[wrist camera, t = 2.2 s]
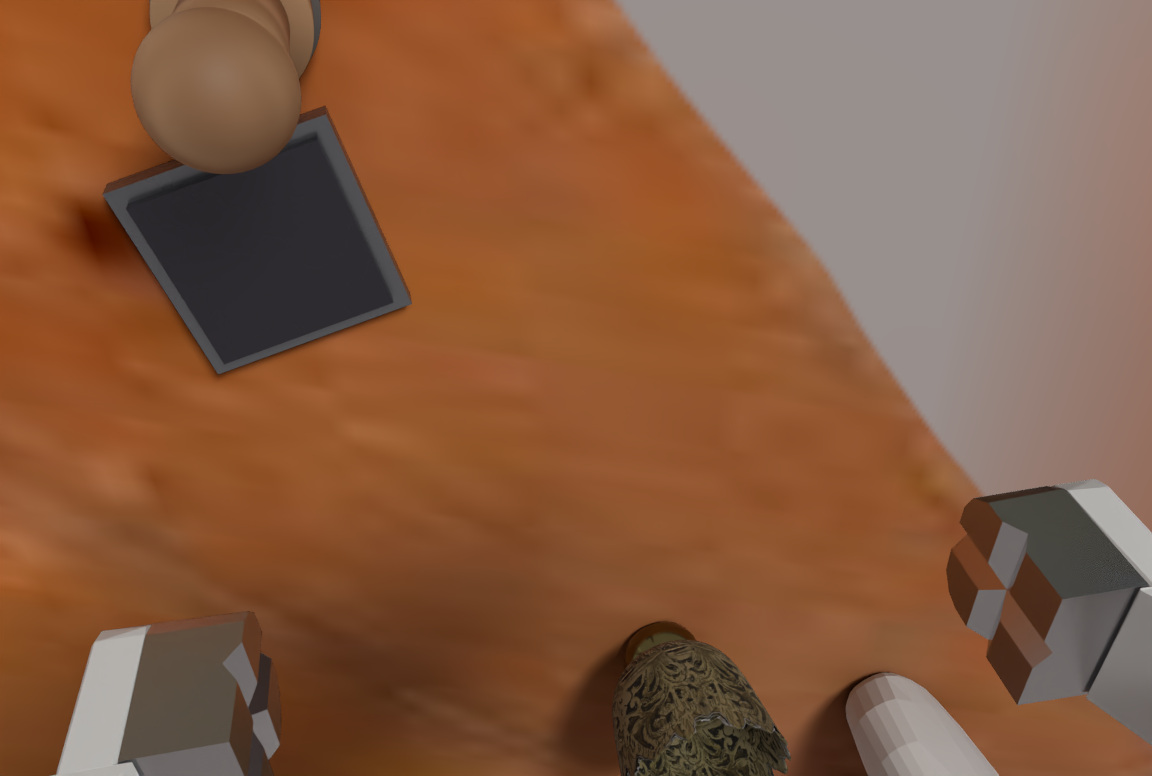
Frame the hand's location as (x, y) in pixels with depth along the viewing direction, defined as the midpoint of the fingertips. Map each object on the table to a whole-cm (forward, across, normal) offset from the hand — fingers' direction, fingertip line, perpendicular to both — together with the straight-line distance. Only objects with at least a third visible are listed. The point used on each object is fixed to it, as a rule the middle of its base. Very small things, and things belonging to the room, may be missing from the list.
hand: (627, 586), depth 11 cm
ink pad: (+22, -7, -6) cm, 24 cm away
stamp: (+22, -6, +1) cm, 23 cm away
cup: (+22, +7, -30) cm, 38 cm away
